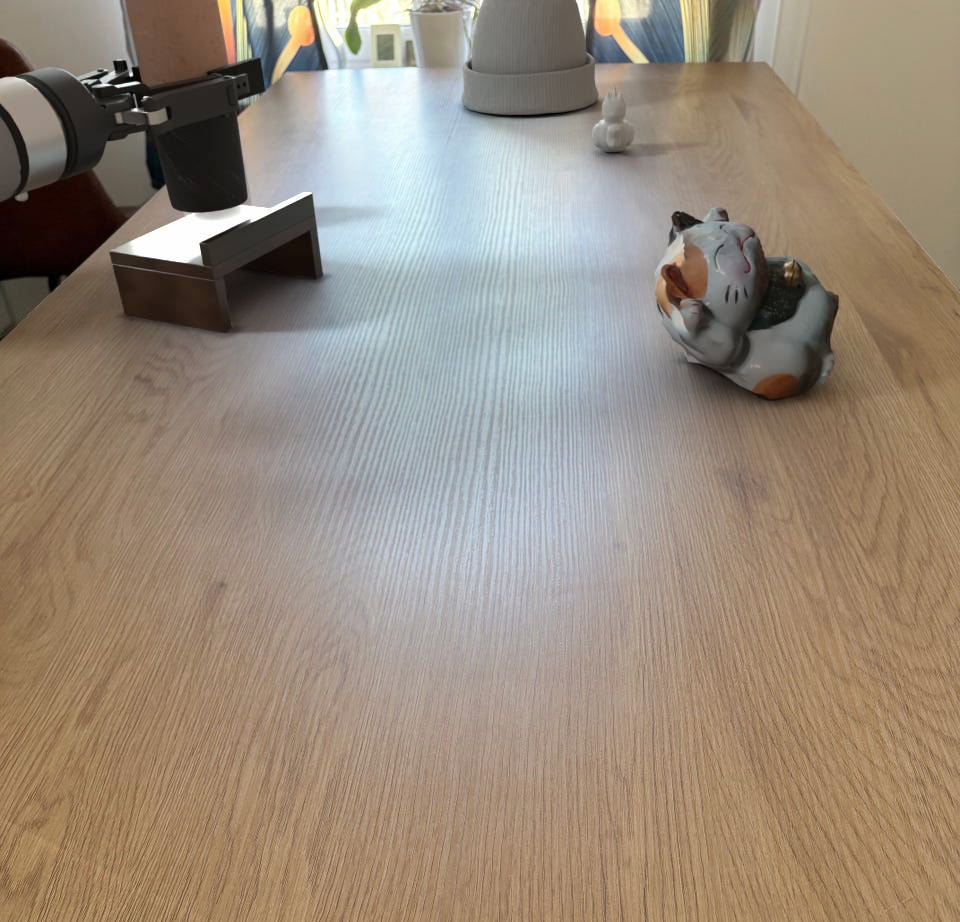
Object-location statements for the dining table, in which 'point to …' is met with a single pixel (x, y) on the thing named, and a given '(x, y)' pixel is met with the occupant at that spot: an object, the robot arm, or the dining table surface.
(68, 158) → the robot arm
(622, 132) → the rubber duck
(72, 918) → the dining table surface
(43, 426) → the dining table surface
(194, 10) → the travel mug
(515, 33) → the beanie hat
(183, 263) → the shelf
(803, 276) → the lucky cat figurine
